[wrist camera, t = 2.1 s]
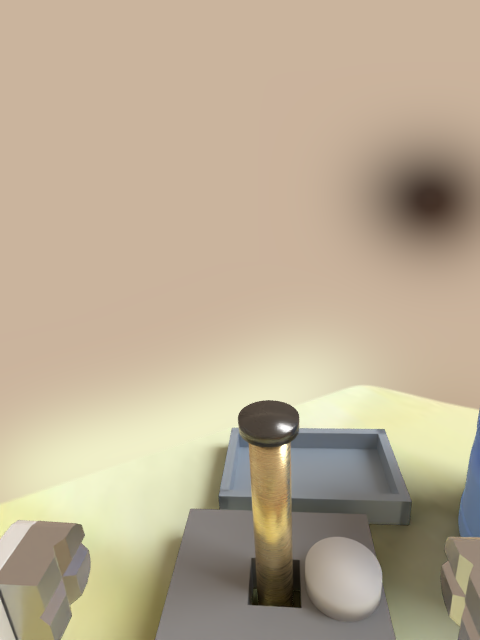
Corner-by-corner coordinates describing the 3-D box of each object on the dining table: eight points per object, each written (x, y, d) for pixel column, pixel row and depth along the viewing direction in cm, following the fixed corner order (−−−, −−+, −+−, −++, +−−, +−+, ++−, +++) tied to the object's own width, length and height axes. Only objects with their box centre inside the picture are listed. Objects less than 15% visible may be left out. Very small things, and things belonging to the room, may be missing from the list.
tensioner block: (152, 709, 24) (141, 658, 23) (193, 536, 35) (188, 494, 34) (404, 731, 23) (411, 678, 21) (364, 543, 34) (367, 499, 32)
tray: (220, 518, 37) (218, 496, 36) (233, 446, 46) (232, 427, 45) (409, 525, 35) (411, 501, 34) (382, 449, 44) (384, 429, 44)
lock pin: (249, 637, 28) (235, 434, 22) (253, 588, 31) (241, 400, 25) (301, 640, 27) (300, 435, 22) (299, 590, 30) (298, 400, 25)
